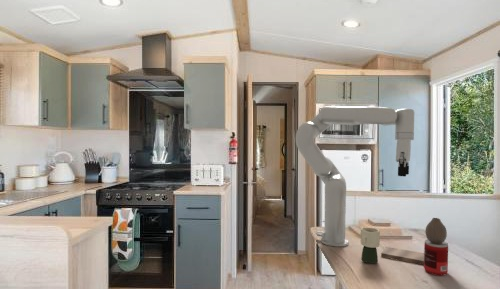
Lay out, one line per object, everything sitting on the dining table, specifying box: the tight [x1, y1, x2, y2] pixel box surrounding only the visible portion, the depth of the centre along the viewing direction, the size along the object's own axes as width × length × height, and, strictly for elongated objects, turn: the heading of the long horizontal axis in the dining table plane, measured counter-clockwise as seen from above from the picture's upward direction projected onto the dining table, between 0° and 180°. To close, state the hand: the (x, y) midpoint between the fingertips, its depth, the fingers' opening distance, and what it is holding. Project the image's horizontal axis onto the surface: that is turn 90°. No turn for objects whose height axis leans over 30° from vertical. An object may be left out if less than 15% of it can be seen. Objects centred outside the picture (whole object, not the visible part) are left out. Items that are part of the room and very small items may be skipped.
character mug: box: [359, 226, 381, 264], centre depth 130 cm, size 11×7×13 cm, turn 133°
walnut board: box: [380, 246, 424, 266], centre depth 136 cm, size 16×10×2 cm, turn 58°
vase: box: [425, 217, 448, 244], centre depth 122 cm, size 7×7×9 cm
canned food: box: [423, 239, 449, 276], centre depth 121 cm, size 8×8×11 cm
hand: (403, 175), depth 145 cm, fingers open, 9 cm apart
